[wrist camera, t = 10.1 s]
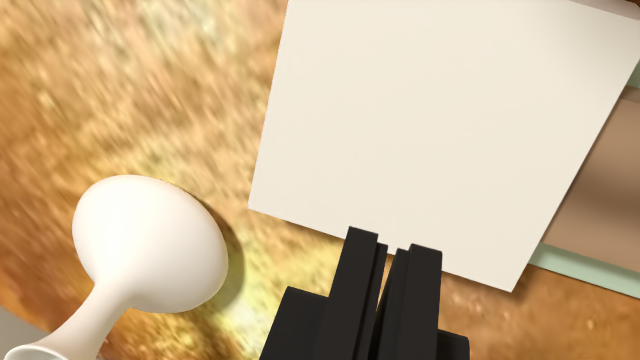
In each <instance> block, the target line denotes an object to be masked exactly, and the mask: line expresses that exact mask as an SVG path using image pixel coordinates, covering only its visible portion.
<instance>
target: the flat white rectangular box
mask: <svg viewBox="0 0 640 360" xmlns="http://www.w3.org/2000/svg"><path fill="white" fill-rule="evenodd" d="M639 59H640V8H639V7H638V6H637V4H636V3H632V2H629V1H625V0H289V2H288V7H287V12H286V17H285V22H284V27H283V32H282V37H281V42H280V47H279V52H278V57H277V62H276V67H275V72H274V77H273V82H272V87H271V92H270V97H269V102H268V107H267V112H266V117H265V122H264V127H263V132H262V137H261V142H260V147H259V152H258V157H257V162H256V167H255V172H254V177H253V182H252V187H251V192H250V197H249V202H248V207H247V208H249V209H252V210H255V211H258V212H261V213H265V214H268V215H271V216H274V217H277V218H280V219H283V220H286V221H290V222H293V223H296V224H299V225H302V226H305V227H308V228H311V229H314V230H318V231H321V232H324V233H327V234H330V235H333V236H336V237H339V238H343V239H346V235H347V232H348V228H349V226H352V227H356V228H359V229H363V230H367V231H370V232H374V233H378V234H379V235H378V240H377V242H379V243H383V244H386V245H388V251H387V253H389V254H393V255H395V253H396V250H397V248H401V249H405V250H409V247H410V245H411V243H414V244H417V245H421V246H425V247H428V248H432V249H436V250H439V251H442V254H443V257H442V270H443V271H446V272H449V273H452V274H455V275H458V276H461V277H464V278H467V279H471V280H474V281H477V282H480V283H483V284H486V285H489V286H492V287H496V288H499V289H502V290H505V291H508V292H512V290H513V288H514V286H515V285H516V283H517V281H518V279H519V277H520V275H521V274H522V272H523V270H524V268H525V266H526V265H527V263H528V261H529V259H530V257H531V255H532V254H533V252H534V250H535V248H536V246H537V244H538V243H539V241H540V239H541V237H542V235H543V234H544V232H545V230H546V228H547V226H548V224H549V223H550V221H551V219H552V217H553V215H554V214H555V212H556V210H557V208H558V206H559V204H560V203H561V201H562V199H563V197H564V195H565V194H566V192H567V190H568V188H569V186H570V184H571V183H572V181H573V179H574V177H575V175H576V174H577V172H578V170H579V168H580V166H581V164H582V163H583V161H584V159H585V157H586V155H587V154H588V152H589V150H590V148H591V146H592V144H593V143H594V141H595V139H596V137H597V135H598V134H599V132H600V130H601V128H602V126H603V124H604V123H605V121H606V119H607V117H608V115H609V114H610V112H611V110H612V108H613V106H614V104H615V103H616V101H617V99H618V97H619V95H620V94H621V92H622V90H623V88H624V86H625V84H626V83H627V81H628V79H629V77H630V75H631V74H632V72H633V70H634V68H635V66H636V64H637V63H638V61H639Z"/></svg>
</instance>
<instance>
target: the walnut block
mask: <svg viewBox="0 0 640 360" xmlns="http://www.w3.org/2000/svg"><path fill="white" fill-rule="evenodd" d="M539 242H542V243H545V244H548V245H551V246H555V247H558V248H561V249H564V250H568V251H571V252H574V253H577V254H581V255H584V256H587V257H590V258H594V259H597V260H600V261H603V262H607V263H610V264H613V265H617V266H620V267H623V268H626V269H630V270H633V271H636V272H639V273H640V88H637V87H633V86H630V85H626V84H625V86H624V88H623V90H622V92H621V94H620V95H619V97H618V99H617V101H616V103H615V104H614V106H613V108H612V110H611V112H610V114H609V115H608V117H607V119H606V121H605V123H604V124H603V126H602V128H601V130H600V132H599V134H598V135H597V137H596V139H595V141H594V143H593V144H592V146H591V148H590V150H589V152H588V154H587V155H586V157H585V159H584V161H583V163H582V164H581V166H580V168H579V170H578V172H577V174H576V175H575V177H574V179H573V181H572V183H571V184H570V186H569V188H568V190H567V192H566V194H565V195H564V197H563V199H562V201H561V203H560V204H559V206H558V208H557V210H556V212H555V214H554V215H553V217H552V219H551V221H550V223H549V224H548V226H547V228H546V230H545V232H544V234H543V235H542V237H541V239H540V241H539Z"/></svg>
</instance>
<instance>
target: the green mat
mask: <svg viewBox="0 0 640 360" xmlns="http://www.w3.org/2000/svg"><path fill="white" fill-rule="evenodd" d="M626 85H630V86H633V87H637V88H640V59H639V61H638V63H637V64H636V66H635V68H634V70H633V72H632V74H631V75H630V77H629V79H628V81H627V83H626ZM528 263H529V264H532V265H536V266H539V267H542V268H545V269H548V270H551V271H555V272H558V273H561V274H564V275H567V276H570V277H573V278H577V279H580V280H583V281H586V282H589V283H592V284H596V285H599V286H602V287H605V288H608V289H611V290H615V291H618V292H621V293H624V294H627V295H630V296H633V297H637V298H640V273H639V272H636V271H633V270H630V269H626V268H623V267H620V266H617V265H613V264H610V263H607V262H603V261H600V260H597V259H594V258H590V257H587V256H584V255H581V254H577V253H574V252H571V251H568V250H564V249H561V248H558V247H555V246H551V245H548V244H545V243H542V242H539V243H538V244H537V246H536V248H535V250H534V252H533V254H532V255H531V257H530V259H529V261H528Z"/></svg>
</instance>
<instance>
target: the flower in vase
mask: <svg viewBox="0 0 640 360" xmlns="http://www.w3.org/2000/svg"><path fill="white" fill-rule="evenodd" d="M72 233H73V240H74V245H75V247H76V250H77V253H78V256H79V259H80V261H81V263H82V265H83V267H84V269H85V270H86V272H87V273H88V275H89V276H90V277H91V279H92V280H93V281H94V283H95V286H94V288H93V290H92V292H91V294H90V295H89V296H88V298H87V299H86V301H85V302H84V303H83V304H82V306H81V307H80V308H79V309H78V310H77V311H76V312H75V313H74V315H72V316H71V317H70V318H69V319H68V320H67V321H66V322H65V323H64V324H63V325H62V326H61V327H60V328H58V329H57V330H56V331H54V332H53V333H52V334H50V335H49V336H47V337H45V338H44V339H42V340H40V341H37V342H34V343H31V344H26V345H21V346H18V347H16V348H14V349H12V350H11V351H9V352H8V353H7V354H6V356H5V358H4V360H95V359H96V356H97V354H98V351H99V349H100V347H101V345H102V344H103V342H104V340H105V338H106V336H107V335H108V333H109V331H110V330H111V328H112V327H113V325H114V324H115V323H116V321H117V320H118V319H119V318H120V316H121V315H122V314H123V313H124V312H125V311H126V310H127V309H128V308H130V307H131V308H134V309H138V310H141V311H146V312H151V313H178V312H185V311H188V310H192V309H194V308H196V307H198V306H200V305H201V304H203V303H205V302H206V301H208V300H209V299H211V298H212V297H213V296H214V295H215V294H216V293H217V292H218V291H219V290H220V288H221V287H222V285H223V283H224V281H225V279H226V276H227V272H228V264H229V263H228V252H227V247H226V244H225V241H224V238H223V235H222V233H221V231H220V229H219V227H218V225H217V223H216V222H215V220H214V219H213V217H212V216H211V214H210V213H209V212H208V211H207V210H206V208H205V207H204V206H203V205H202V204H201V203H200V202H199V201H197V200H196V199H195V198H194V197H192V196H191V195H190V194H188V193H187V192H185V191H184V190H182V189H181V188H179V187H177V186H175V185H173V184H171V183H168V182H166V181H163V180H160V179H157V178H153V177H148V176H142V175H118V176H113V177H108V178H105V179H103V180H101V181H98V182H97V183H95V184H94V185H92V186H91V187H90V188H89V189H88V190H87V191H86V192H85V193H84V194H83V196H82V197H81V199H80V201H79V203H78V205H77V208H76V211H75V215H74V218H73V225H72Z"/></svg>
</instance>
